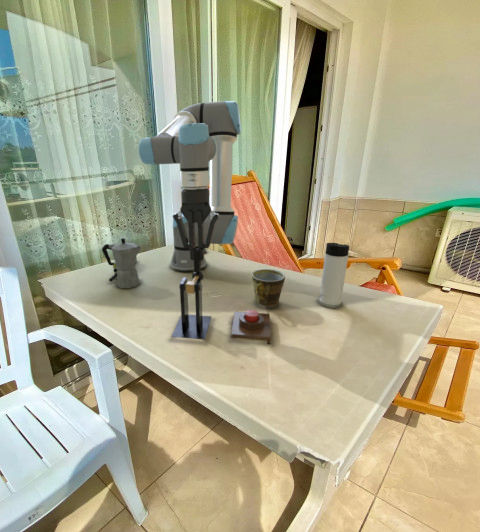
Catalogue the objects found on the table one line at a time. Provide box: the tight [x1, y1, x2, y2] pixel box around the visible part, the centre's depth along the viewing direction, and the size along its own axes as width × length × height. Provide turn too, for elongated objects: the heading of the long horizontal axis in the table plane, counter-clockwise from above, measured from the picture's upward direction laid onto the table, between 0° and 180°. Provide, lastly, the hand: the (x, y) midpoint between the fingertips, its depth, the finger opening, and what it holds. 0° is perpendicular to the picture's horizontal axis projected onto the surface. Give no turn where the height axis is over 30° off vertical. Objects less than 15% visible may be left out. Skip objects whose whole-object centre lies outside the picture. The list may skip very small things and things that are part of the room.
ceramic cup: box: [251, 268, 286, 309], centre depth 94 cm, size 13×10×10 cm
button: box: [244, 309, 260, 322], centre depth 82 cm, size 4×4×2 cm
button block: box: [230, 311, 272, 345], centre depth 83 cm, size 12×10×4 cm
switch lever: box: [186, 270, 205, 294], centre depth 85 cm, size 13×3×3 cm, turn 168°
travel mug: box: [318, 242, 350, 309], centre depth 92 cm, size 6×7×20 cm
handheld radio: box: [108, 256, 138, 282], centre depth 128 cm, size 7×3×25 cm
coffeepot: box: [101, 238, 142, 289], centre depth 113 cm, size 15×9×18 cm, turn 79°
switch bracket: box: [171, 277, 212, 341], centre depth 82 cm, size 12×9×15 cm
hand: (197, 270), depth 89 cm, fingers closed
